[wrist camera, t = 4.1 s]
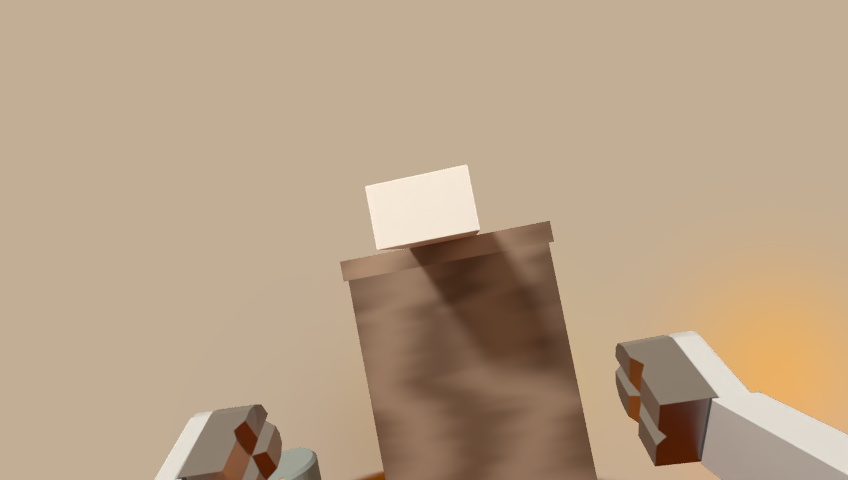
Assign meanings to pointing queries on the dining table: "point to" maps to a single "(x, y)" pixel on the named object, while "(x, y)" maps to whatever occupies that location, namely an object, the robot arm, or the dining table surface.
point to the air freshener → (297, 465)
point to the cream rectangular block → (423, 209)
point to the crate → (470, 360)
